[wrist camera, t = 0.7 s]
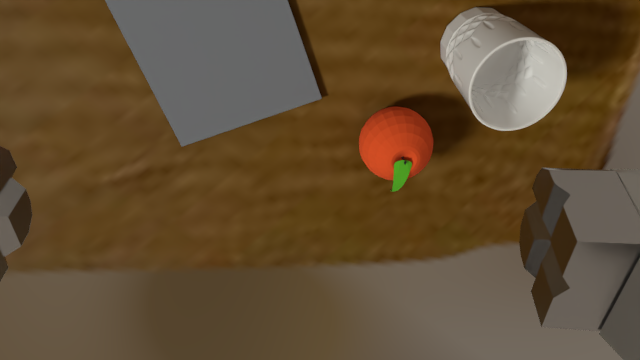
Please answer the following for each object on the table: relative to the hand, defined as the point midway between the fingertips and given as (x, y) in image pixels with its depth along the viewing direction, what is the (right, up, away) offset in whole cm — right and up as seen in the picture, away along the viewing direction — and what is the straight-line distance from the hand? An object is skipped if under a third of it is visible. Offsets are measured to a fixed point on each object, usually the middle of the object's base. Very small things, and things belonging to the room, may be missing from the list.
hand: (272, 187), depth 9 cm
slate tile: (-8, +12, +43) cm, 45 cm away
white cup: (+15, +13, +46) cm, 50 cm away
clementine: (+7, +5, +50) cm, 50 cm away
